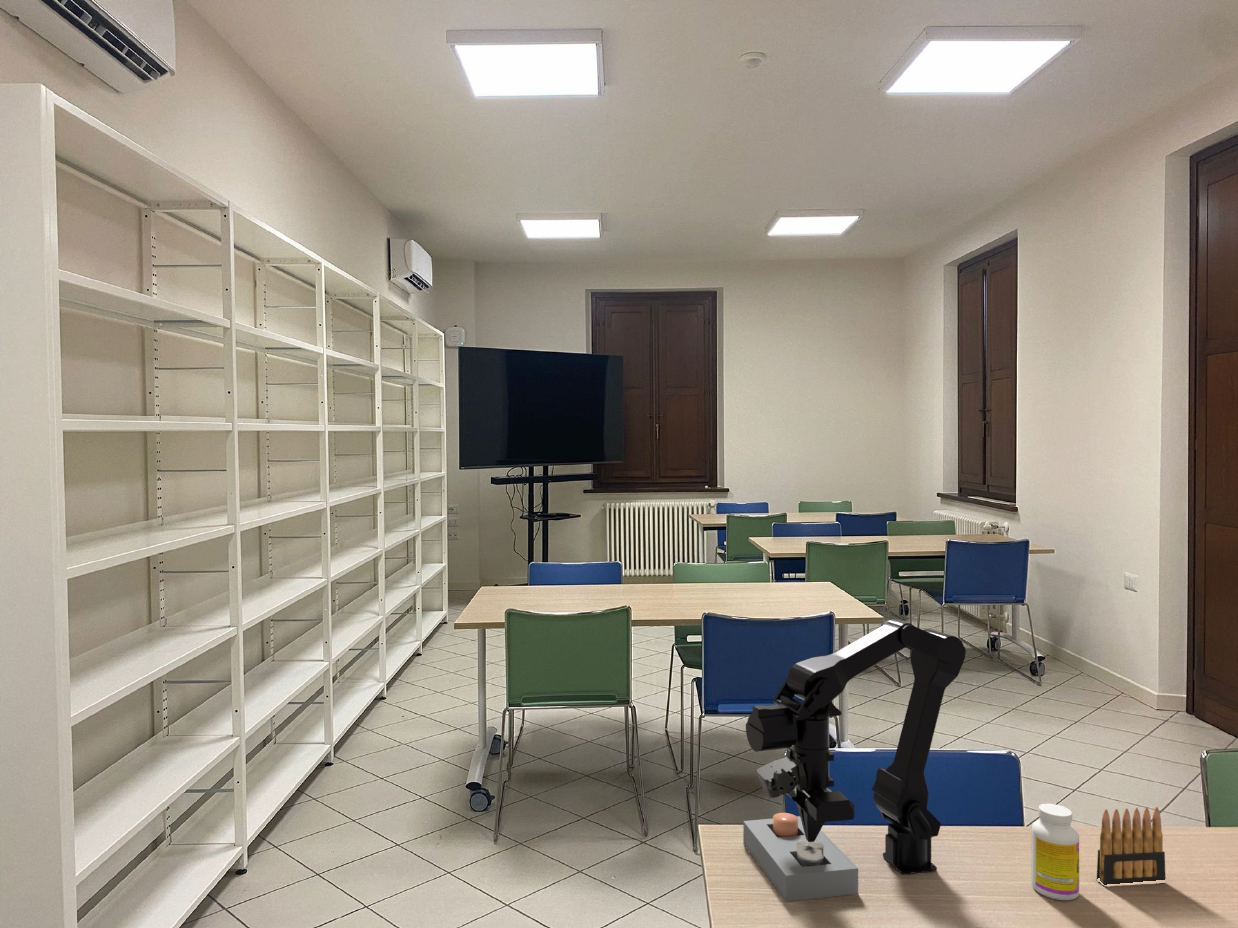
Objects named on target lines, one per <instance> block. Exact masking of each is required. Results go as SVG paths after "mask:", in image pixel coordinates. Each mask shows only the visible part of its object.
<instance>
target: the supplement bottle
mask: <svg viewBox="0 0 1238 928" xmlns="http://www.w3.org/2000/svg"><path fill="white" fill-rule="evenodd" d="M1038 817H1039V819H1037V820H1036V821H1034V822H1033V824H1032V825H1031V862H1030V863H1031V873H1030V874H1031V878H1030V879H1031V885H1032V887H1033V888H1034V890H1035V892H1036V891H1037V893H1039V894H1040V895H1042V896H1044V897H1047V898H1050V899H1053V900H1058V901H1073V900H1076V899H1077V898H1078V896H1079V895H1080V835H1079V833H1078V830H1077V829H1076V828H1075V827H1073V826H1072V822H1073V812H1072V811H1071V809H1069V808H1067V807H1066V806H1063V805H1059V804H1054V803H1042V804H1039V805H1038Z"/></svg>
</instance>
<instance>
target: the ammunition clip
mask: <svg viewBox="0 0 1238 928" xmlns="http://www.w3.org/2000/svg"><path fill="white" fill-rule="evenodd" d="M1141 819H1142V820H1141ZM1121 822H1122V823H1121ZM1100 830H1101V831H1100V834H1099V849H1097V863H1096V864H1097V865H1096V866H1097V867H1096V880H1097V879H1098V878H1100V881H1101V882H1102V883H1103V884H1104V885H1107V884H1120V883H1133V882H1143V881H1156V880H1165V879H1166V854H1165V851H1164V850H1163V848H1164V847H1163V840H1164V838H1163V837H1164V835H1163V831H1162V818H1161V813H1160V809H1159V807H1158V806H1155V808H1154V811H1153V812H1152V818H1151V813H1150V810H1149V808H1148V807H1145V808H1144V810H1143V814H1142V818H1141V813H1140V811H1139V808H1138V807H1135V809H1134V811H1133V814H1132V819H1131V814H1130V811H1129V809H1128V808H1125V809H1124V812H1123V815H1122V821H1121V816H1120V812H1119V809H1118V808H1115V810H1114V811H1113V815H1112V818H1111V819H1110V813H1109V811H1108V809H1106V808H1105V809H1104V811H1103V814H1102V818H1101V828H1100ZM1166 880H1167V879H1166Z"/></svg>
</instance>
